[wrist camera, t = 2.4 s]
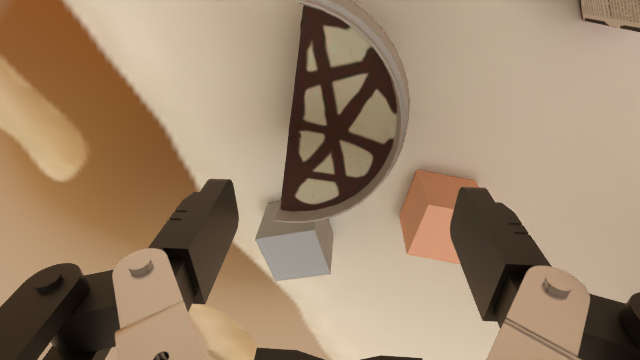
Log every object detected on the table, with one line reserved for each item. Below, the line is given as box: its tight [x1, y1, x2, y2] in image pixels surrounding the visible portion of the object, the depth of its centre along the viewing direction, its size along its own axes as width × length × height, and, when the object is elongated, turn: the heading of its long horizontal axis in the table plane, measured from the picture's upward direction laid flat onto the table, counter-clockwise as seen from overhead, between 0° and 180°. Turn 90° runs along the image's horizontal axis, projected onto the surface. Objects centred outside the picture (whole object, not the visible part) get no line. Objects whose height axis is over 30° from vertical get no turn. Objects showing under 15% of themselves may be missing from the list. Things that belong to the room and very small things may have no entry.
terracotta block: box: [400, 170, 479, 264], centre depth 27 cm, size 5×5×5 cm
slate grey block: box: [255, 201, 333, 281], centre depth 29 cm, size 5×5×5 cm
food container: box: [275, 0, 410, 223], centre depth 20 cm, size 12×6×10 cm, turn 171°
